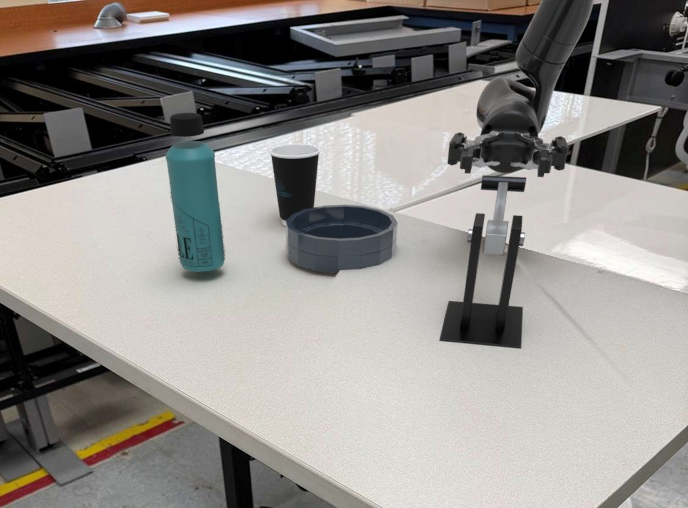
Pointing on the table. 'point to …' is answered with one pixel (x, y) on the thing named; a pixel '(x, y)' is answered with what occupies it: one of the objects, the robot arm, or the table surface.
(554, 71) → the robot arm
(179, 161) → the beverage bottle
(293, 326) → the table surface
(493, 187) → the tap lever
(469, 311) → the bracket
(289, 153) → the dixie cup
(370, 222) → the grey shallow bowl
